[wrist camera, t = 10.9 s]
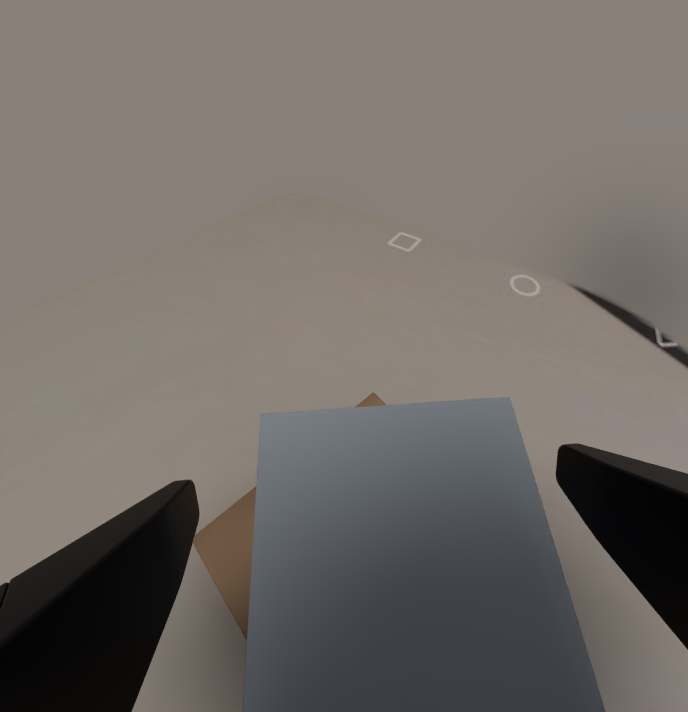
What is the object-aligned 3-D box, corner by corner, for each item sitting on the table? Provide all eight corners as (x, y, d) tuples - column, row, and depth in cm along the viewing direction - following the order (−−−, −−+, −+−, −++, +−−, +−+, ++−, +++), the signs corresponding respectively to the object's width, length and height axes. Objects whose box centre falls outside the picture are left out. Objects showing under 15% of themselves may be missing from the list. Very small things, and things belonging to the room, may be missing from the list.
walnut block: (515, 571, 18) (550, 572, 15) (352, 779, 14) (355, 835, 11) (369, 416, 22) (373, 392, 19) (215, 543, 19) (190, 539, 16)
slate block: (412, 495, 16) (509, 397, 6) (427, 601, 14) (617, 750, 4) (325, 501, 16) (260, 413, 6) (328, 607, 14) (238, 773, 4)
